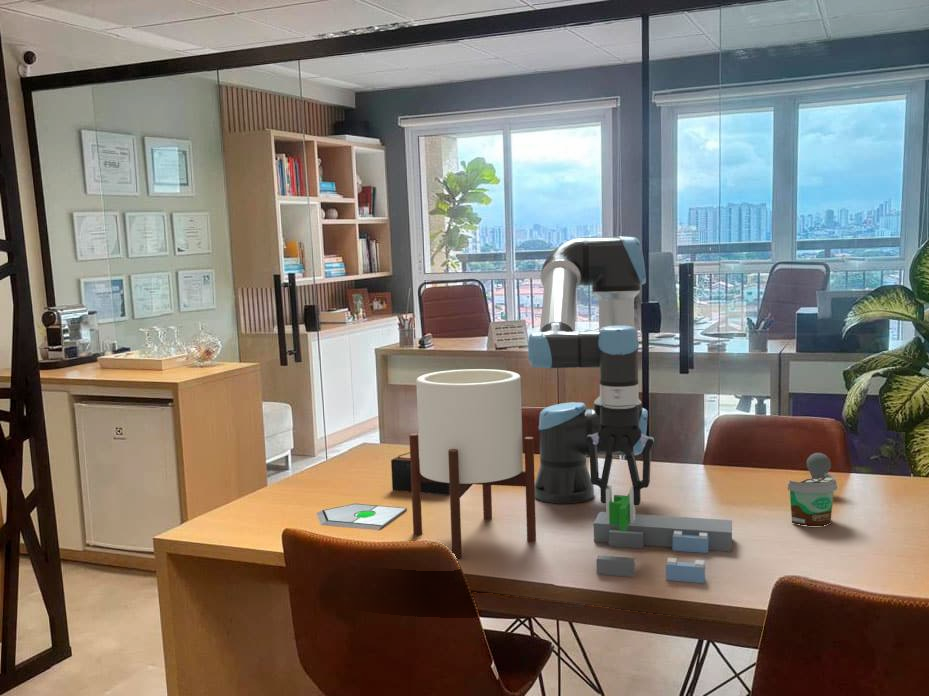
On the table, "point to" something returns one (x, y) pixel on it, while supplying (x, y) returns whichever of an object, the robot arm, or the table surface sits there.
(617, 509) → the pipe clamp
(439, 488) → the radio
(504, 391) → the plant pot with stand
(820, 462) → the light bulb
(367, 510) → the grey pentagonal plate
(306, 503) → the table surface
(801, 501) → the food container
